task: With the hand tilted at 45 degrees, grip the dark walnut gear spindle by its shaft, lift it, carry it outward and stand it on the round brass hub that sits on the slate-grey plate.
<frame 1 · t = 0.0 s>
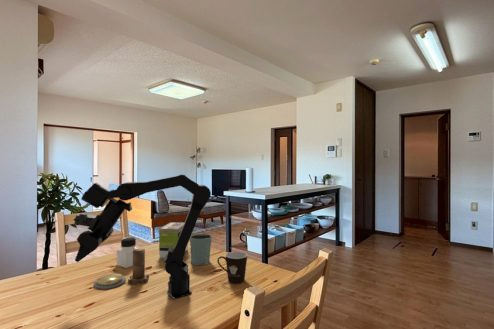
hand: (81, 256, 91), 15 cm above the table, tool tilted 35°, fingers open, 9 cm apart
coffee mug: (233, 279, 110), on the table
plate: (110, 282, 106), on the table
drinking glass: (200, 262, 130), on the table
gear spindle: (138, 280, 108), on the table
tea box: (174, 254, 142), on the table
medicine bottle: (128, 265, 126), on the table
hub: (110, 279, 106), on the plate, point 1 cm above the table
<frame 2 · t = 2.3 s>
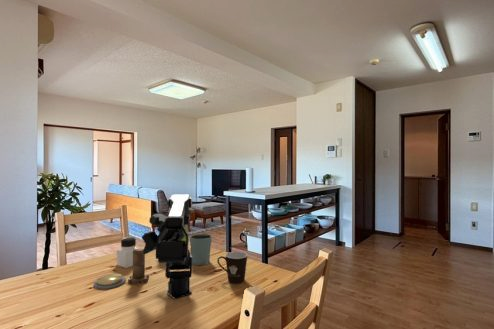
hand: (152, 250, 106), 12 cm above the table, tool tilted 45°, fingers open, 9 cm apart
nothing on the table moved.
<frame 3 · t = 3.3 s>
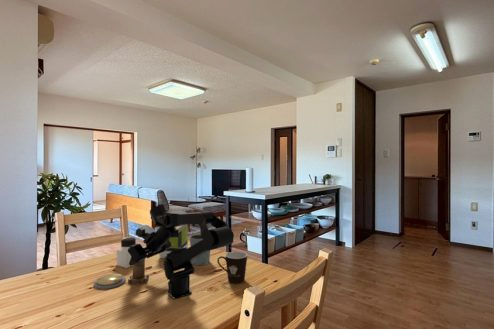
hand: (138, 260, 108), 8 cm above the table, tool tilted 45°, fingers open, 9 cm apart
nothing on the table moved.
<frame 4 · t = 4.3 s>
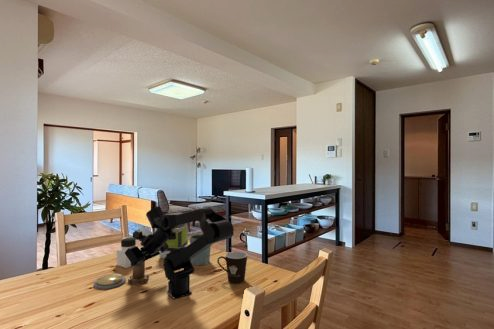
hand: (135, 263, 109), 7 cm above the table, tool tilted 45°, fingers closed on gear spindle, 4 cm apart
gear spindle: (138, 280, 108), on the table, touching gripper
everything else where it was.
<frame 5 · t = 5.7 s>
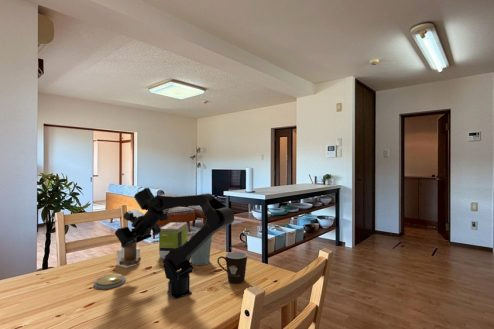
hand: (127, 245, 108), 14 cm above the table, tool tilted 45°, fingers closed on gear spindle, 4 cm apart
gear spindle: (130, 262, 108), point 7 cm above the table, touching gripper
everything else where it was.
when the fingers open (9 cm above the table, at t = 7.2 s): gear spindle stays where it is, resting on hub.
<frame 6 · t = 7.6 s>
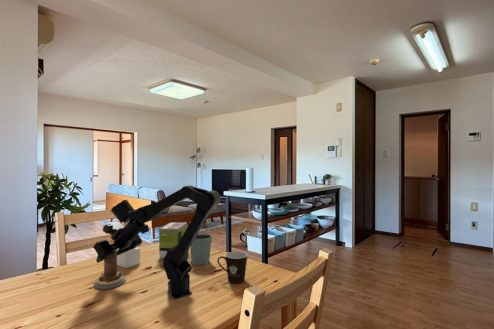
hand: (107, 257, 106), 9 cm above the table, tool tilted 45°, fingers open, 9 cm apart
gear spindle: (110, 278, 106), point 2 cm above the table, touching hub
everything else where it was.
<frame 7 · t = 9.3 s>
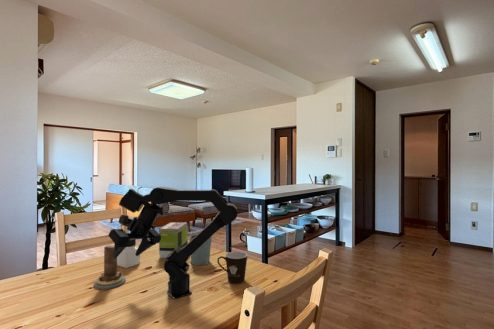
hand: (125, 256, 99), 13 cm above the table, tool tilted 30°, fingers open, 9 cm apart
nothing on the table moved.
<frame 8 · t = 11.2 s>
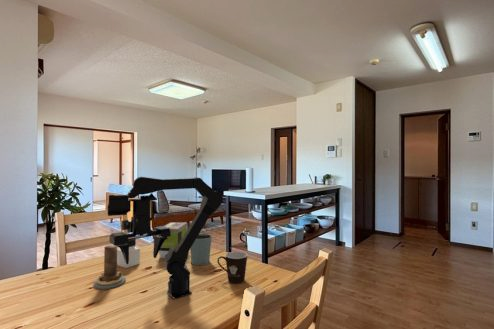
hand: (141, 260, 93), 13 cm above the table, tool pointing down, fingers open, 9 cm apart
nothing on the table moved.
at the end: gear spindle 0.2 cm from the hub (horizontally); gear spindle tilted 0°; the gripper is holding nothing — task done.
